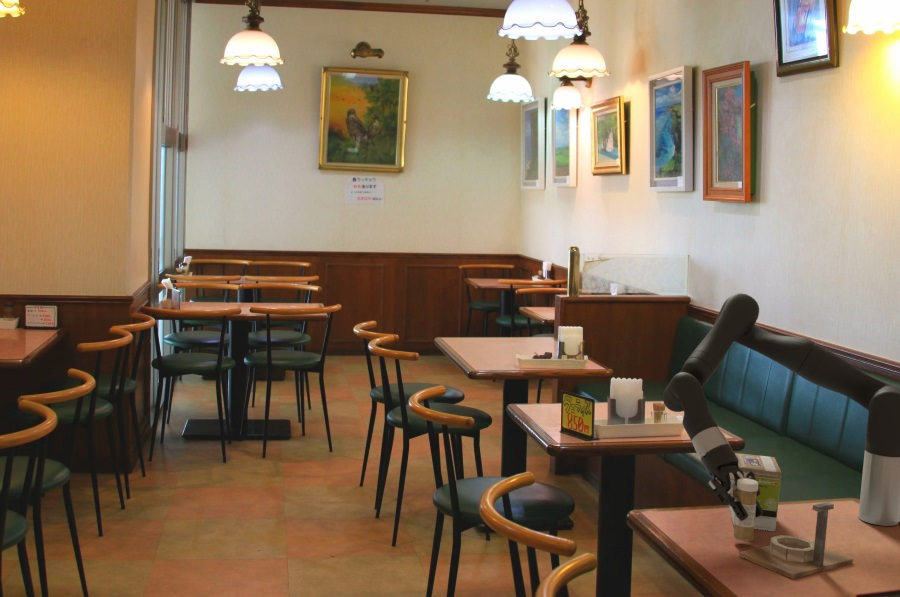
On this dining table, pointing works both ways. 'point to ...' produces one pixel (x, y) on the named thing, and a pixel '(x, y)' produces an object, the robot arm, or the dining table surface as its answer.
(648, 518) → the dining table surface
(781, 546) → the socket base
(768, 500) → the tea box
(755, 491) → the sprinkles bottle
